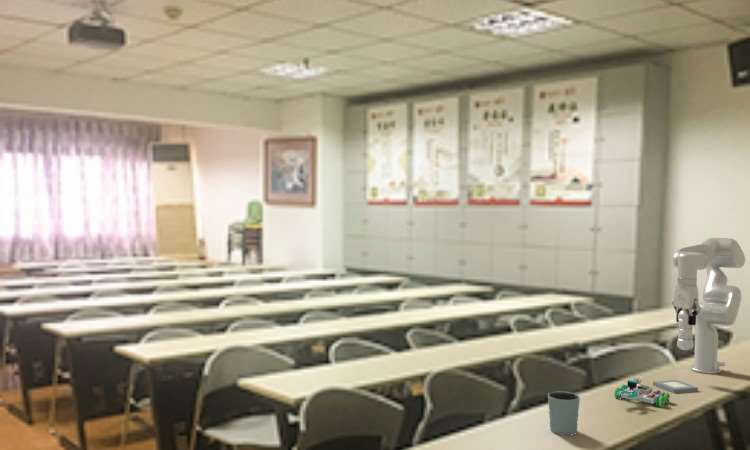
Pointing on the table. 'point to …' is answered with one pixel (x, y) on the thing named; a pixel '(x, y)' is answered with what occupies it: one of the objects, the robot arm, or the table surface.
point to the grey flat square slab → (675, 386)
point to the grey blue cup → (563, 412)
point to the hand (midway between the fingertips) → (685, 323)
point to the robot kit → (641, 393)
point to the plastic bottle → (685, 331)
